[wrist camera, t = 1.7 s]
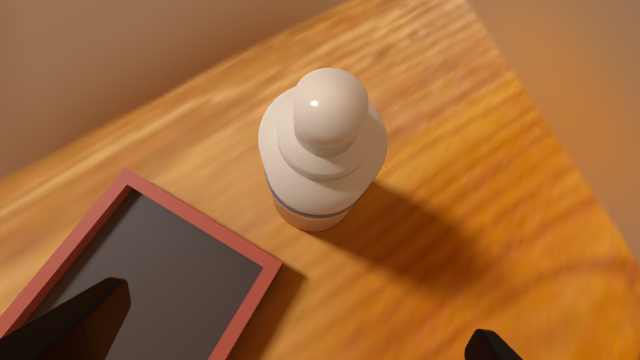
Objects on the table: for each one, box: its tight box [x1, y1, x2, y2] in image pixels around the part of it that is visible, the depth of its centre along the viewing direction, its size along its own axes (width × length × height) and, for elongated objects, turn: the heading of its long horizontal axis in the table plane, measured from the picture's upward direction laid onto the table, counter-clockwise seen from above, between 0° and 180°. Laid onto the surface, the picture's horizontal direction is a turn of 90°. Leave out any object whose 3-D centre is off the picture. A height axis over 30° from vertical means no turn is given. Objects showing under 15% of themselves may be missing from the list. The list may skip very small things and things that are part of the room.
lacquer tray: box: [0, 168, 283, 360], centre depth 19 cm, size 12×12×2 cm
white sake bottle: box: [258, 68, 387, 232], centre depth 17 cm, size 6×6×12 cm
